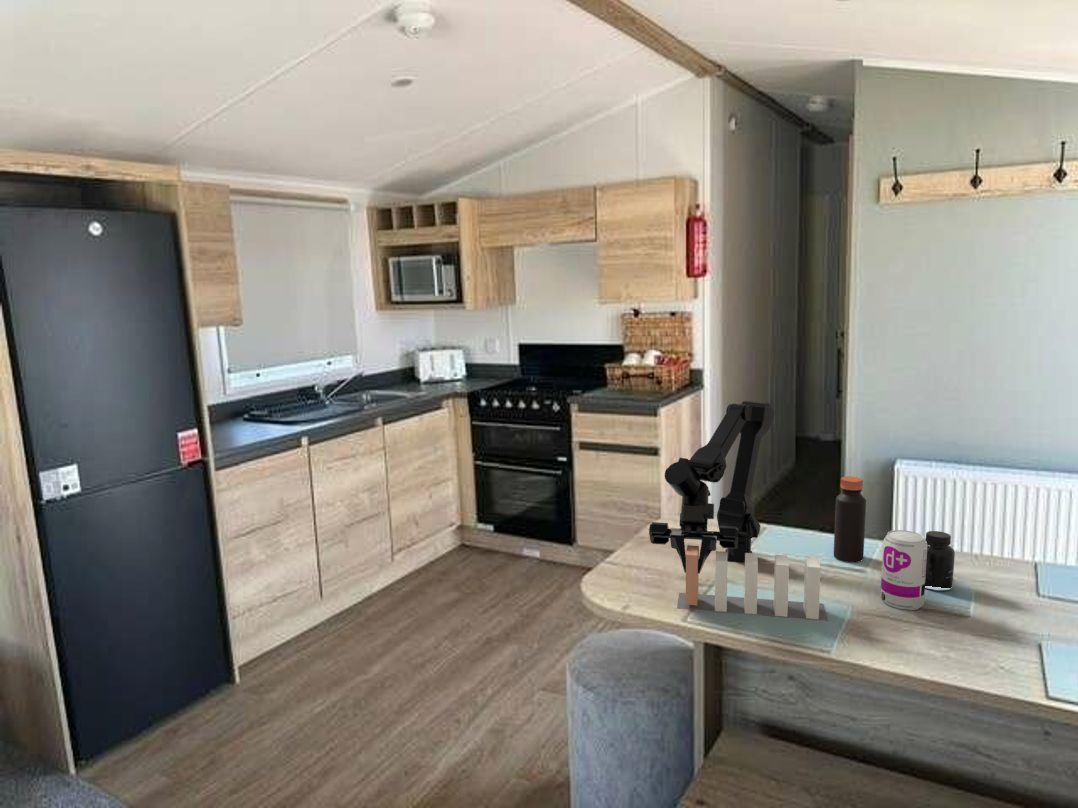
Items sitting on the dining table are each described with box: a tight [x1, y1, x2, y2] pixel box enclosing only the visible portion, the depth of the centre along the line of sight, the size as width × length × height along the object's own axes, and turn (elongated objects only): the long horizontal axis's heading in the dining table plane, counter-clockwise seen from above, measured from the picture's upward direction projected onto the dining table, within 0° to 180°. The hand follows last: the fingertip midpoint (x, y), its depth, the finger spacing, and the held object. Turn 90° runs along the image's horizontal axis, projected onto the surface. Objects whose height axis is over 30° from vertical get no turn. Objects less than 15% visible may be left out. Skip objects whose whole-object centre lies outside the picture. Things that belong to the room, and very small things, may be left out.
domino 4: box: [803, 556, 822, 620], centre depth 153 cm, size 2×6×11 cm, turn 166°
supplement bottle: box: [924, 530, 956, 589], centre depth 165 cm, size 7×7×12 cm
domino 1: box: [714, 550, 728, 613], centre depth 157 cm, size 2×6×11 cm, turn 166°
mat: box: [676, 592, 829, 622], centre depth 157 cm, size 8×30×1 cm, turn 76°
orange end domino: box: [685, 544, 700, 605], centre depth 158 cm, size 2×6×11 cm, turn 166°
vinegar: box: [833, 475, 867, 563], centre depth 181 cm, size 7×7×20 cm
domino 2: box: [743, 552, 759, 615], centre depth 156 cm, size 2×6×11 cm, turn 166°
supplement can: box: [879, 529, 927, 611], centre depth 156 cm, size 8×8×15 cm
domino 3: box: [773, 554, 790, 618], centre depth 154 cm, size 2×6×11 cm, turn 166°
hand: (691, 572), depth 157 cm, fingers closed on orange end domino, 2 cm apart
